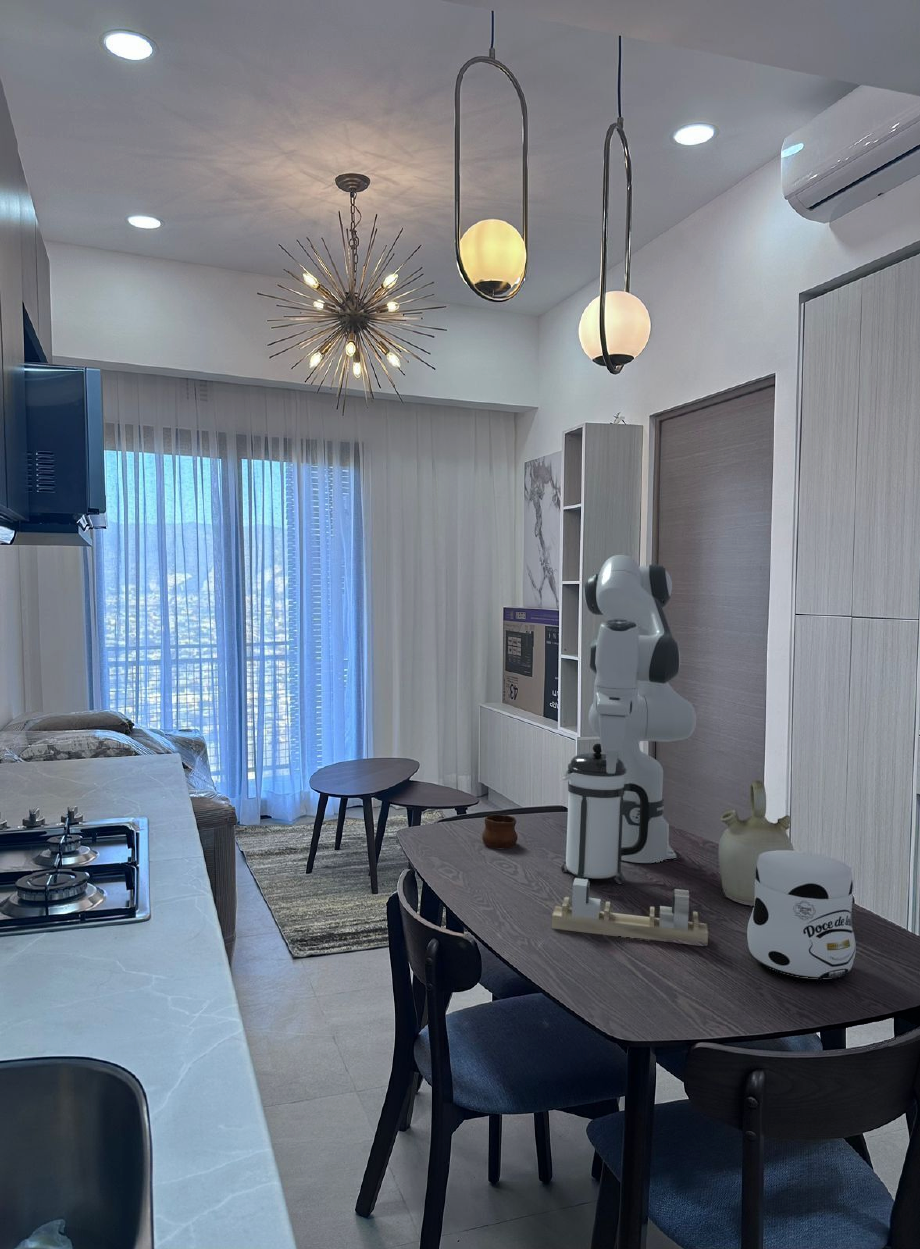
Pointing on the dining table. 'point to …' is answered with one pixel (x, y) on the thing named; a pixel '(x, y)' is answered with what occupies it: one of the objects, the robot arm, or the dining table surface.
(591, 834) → the coffee press
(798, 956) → the milk container
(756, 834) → the jug
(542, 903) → the dining table surface
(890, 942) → the dining table surface
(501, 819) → the ceramic pot
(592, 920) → the rail
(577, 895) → the grey block
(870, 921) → the dining table surface
